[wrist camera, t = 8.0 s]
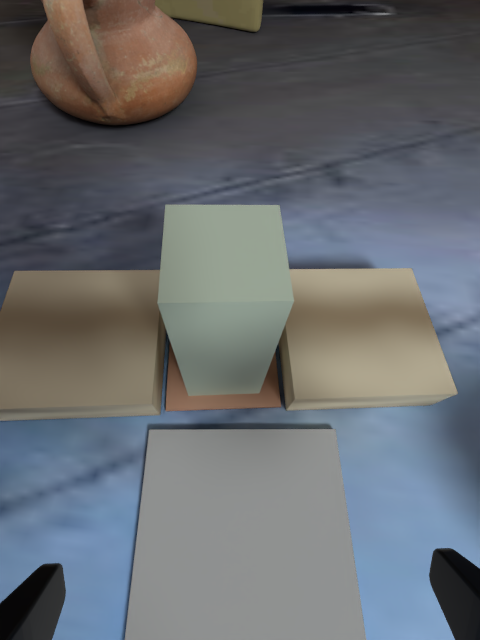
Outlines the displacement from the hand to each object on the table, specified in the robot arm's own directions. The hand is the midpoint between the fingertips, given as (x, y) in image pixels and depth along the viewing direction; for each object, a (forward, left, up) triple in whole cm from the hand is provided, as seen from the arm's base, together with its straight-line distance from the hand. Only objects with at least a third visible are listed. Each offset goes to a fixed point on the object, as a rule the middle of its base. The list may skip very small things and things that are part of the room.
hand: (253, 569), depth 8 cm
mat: (0, 0, -9) cm, 9 cm away
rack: (+8, +3, -9) cm, 12 cm away
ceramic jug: (+33, +18, -9) cm, 38 cm away
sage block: (+8, +3, -8) cm, 12 cm away
